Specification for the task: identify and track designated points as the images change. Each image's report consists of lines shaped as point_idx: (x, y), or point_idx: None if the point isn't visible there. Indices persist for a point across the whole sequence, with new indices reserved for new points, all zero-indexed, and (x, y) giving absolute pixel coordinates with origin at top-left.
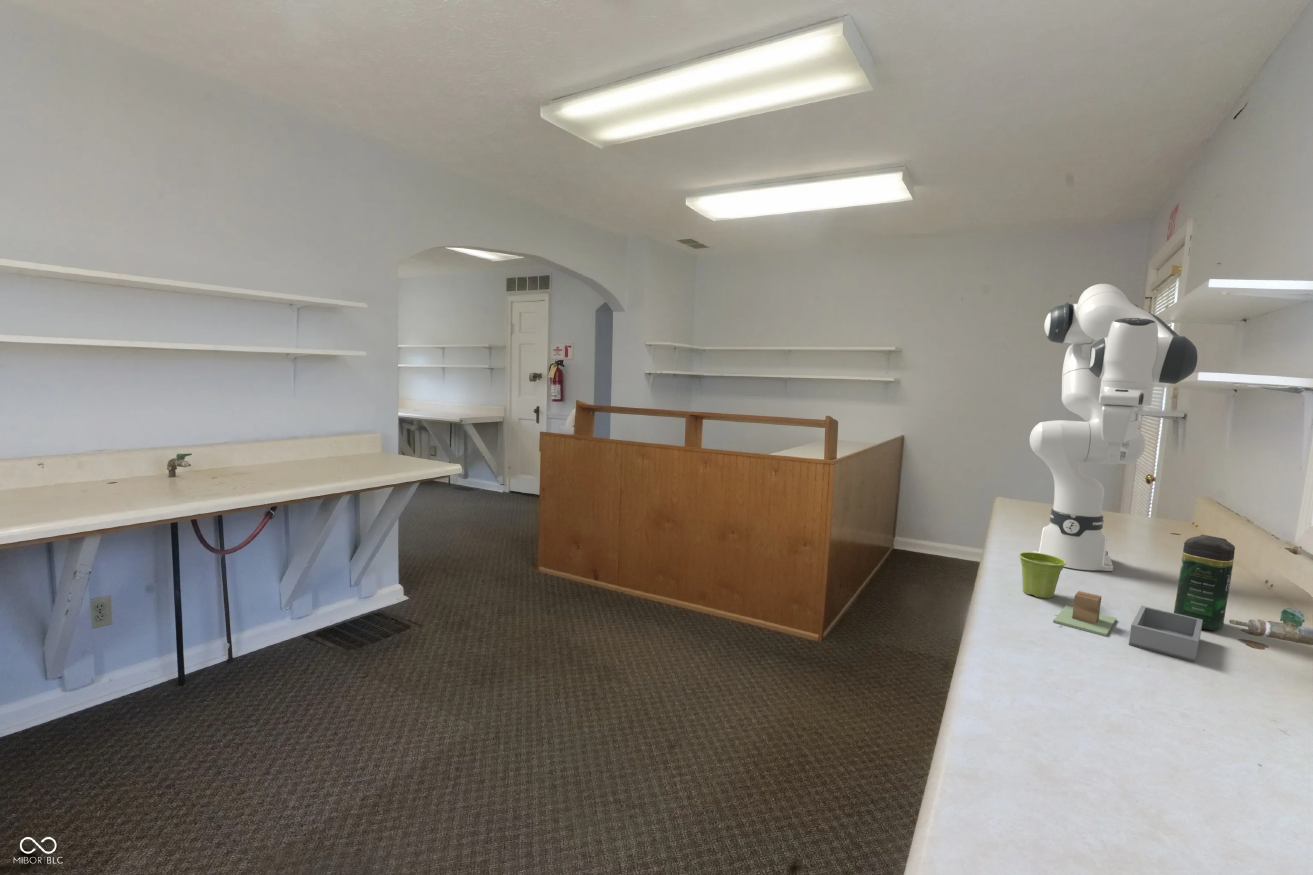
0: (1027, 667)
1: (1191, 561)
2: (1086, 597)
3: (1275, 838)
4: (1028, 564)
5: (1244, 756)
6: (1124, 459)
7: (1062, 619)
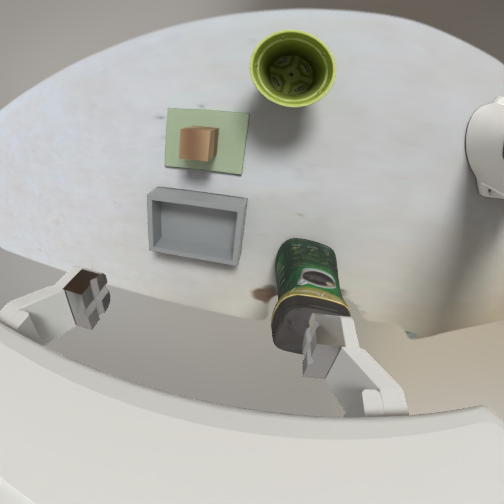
0: (45, 124)
1: (281, 296)
2: (182, 143)
3: (4, 243)
4: (261, 50)
5: (41, 245)
6: (303, 341)
7: (178, 116)
